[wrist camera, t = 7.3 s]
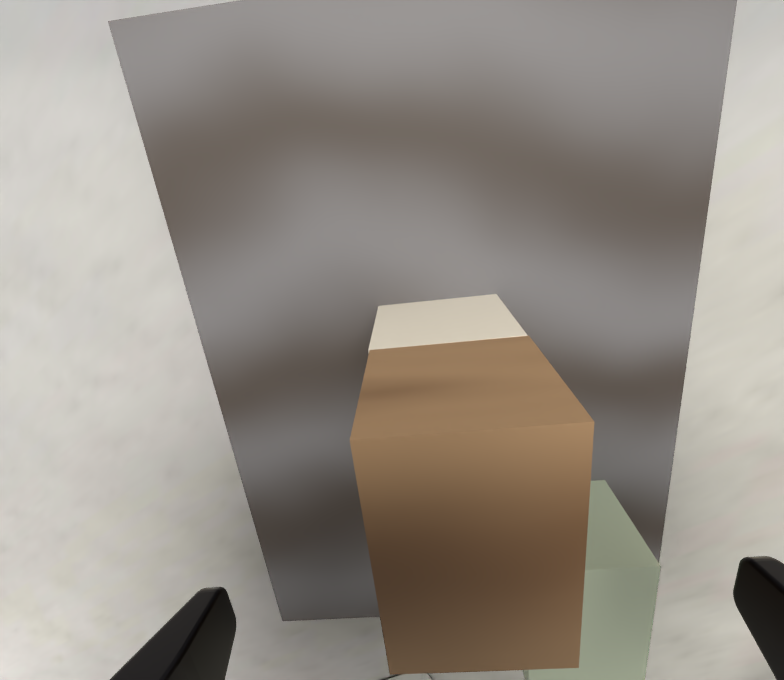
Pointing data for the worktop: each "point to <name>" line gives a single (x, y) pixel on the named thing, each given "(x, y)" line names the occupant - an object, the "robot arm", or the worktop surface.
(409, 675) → the skincare box
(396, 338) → the cream brick
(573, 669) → the sage brick
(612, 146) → the slate board
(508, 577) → the walnut brick
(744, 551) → the worktop surface
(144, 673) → the robot arm
